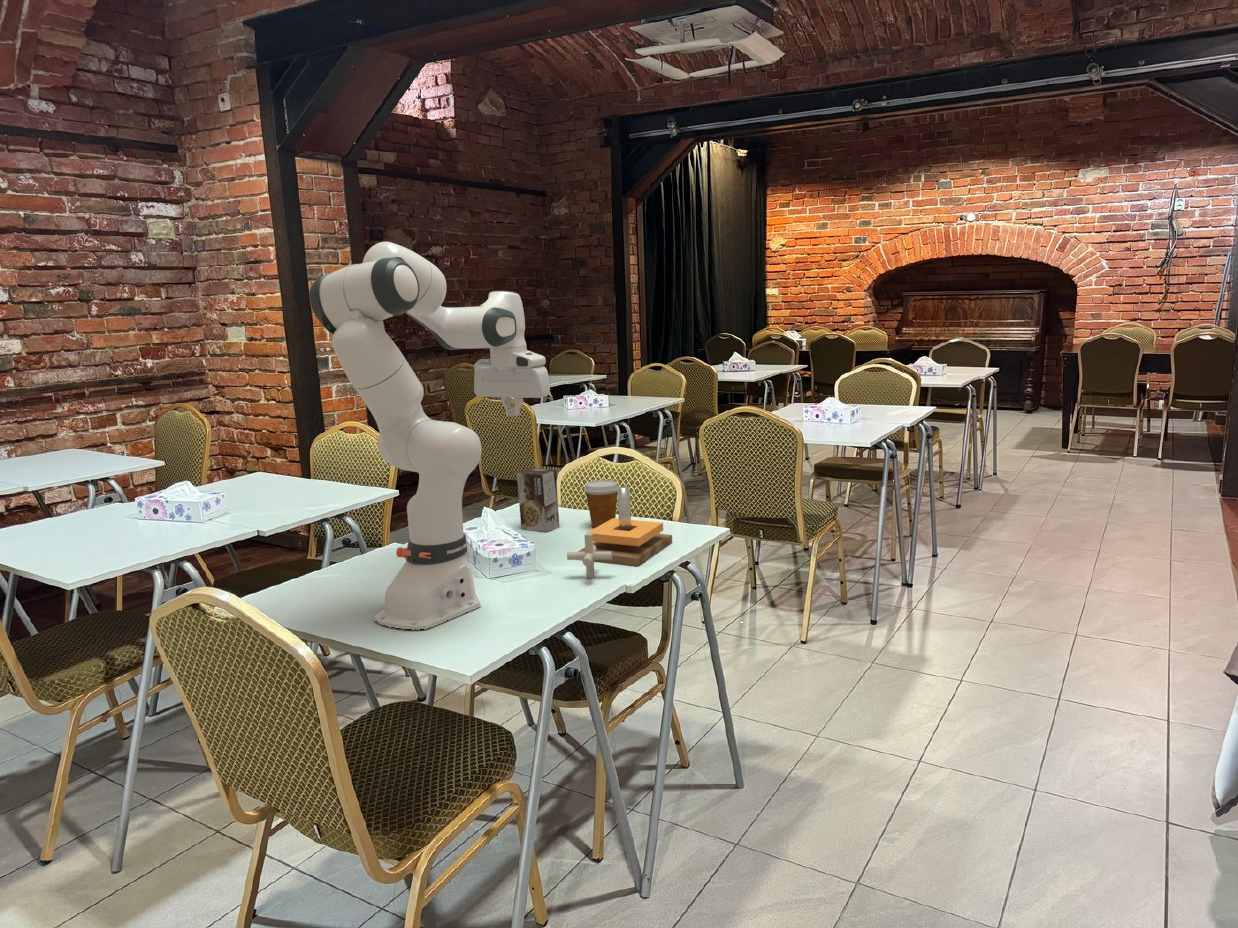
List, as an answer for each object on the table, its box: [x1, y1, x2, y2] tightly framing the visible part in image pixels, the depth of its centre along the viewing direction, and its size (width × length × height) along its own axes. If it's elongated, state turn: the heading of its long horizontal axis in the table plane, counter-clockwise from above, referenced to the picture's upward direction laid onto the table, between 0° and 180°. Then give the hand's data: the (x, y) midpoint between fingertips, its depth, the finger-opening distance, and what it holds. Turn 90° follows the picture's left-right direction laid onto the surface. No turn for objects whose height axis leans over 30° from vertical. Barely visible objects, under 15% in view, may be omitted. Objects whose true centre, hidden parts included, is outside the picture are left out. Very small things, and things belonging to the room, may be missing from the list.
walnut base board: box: [577, 533, 673, 567], centre depth 209 cm, size 20×16×2 cm
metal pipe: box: [615, 485, 632, 546], centre depth 208 cm, size 6×6×14 cm
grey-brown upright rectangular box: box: [516, 467, 560, 533], centre depth 232 cm, size 9×6×16 cm
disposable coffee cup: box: [583, 479, 620, 529], centre depth 231 cm, size 10×10×12 cm
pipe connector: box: [566, 532, 612, 579], centre depth 191 cm, size 10×10×10 cm
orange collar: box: [586, 517, 664, 546], centre depth 209 cm, size 14×14×2 cm
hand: (513, 415), depth 208 cm, fingers closed
